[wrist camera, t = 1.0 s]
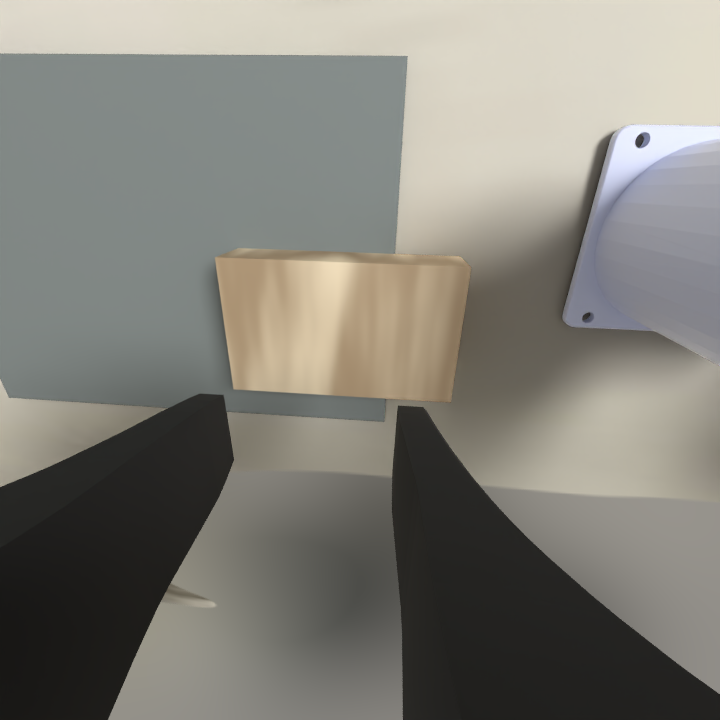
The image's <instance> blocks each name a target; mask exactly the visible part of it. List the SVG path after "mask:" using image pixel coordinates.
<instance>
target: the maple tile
mask: <svg viewBox="0 0 720 720" xmlns="http://www.w3.org/2000/svg"><path fill="white" fill-rule="evenodd" d="M215 262H216V269H217V276H218V283H219V290H220V297H221V304H222V311H223V318H224V325H225V332H226V340H227V347H228V354H229V361H230V368H231V375H232V382H233V389H236V390H253V391H269V392H286V393H302V394H319V395H335V396H352V397H368V398H385V399H401V400H417V401H434V402H450V403H451V398H452V391H453V385H454V378H455V372H456V365H457V359H458V352H459V346H460V339H461V333H462V326H463V320H464V313H465V307H466V300H467V293H468V287H469V280H470V274H471V266H470V265H469V264H467V263H466V262H465V261H464V260H463V259H462V258H461V257H460V256H437V255H410V254H384V253H357V252H331V251H304V250H277V249H251V248H237V249H235V250H232V251H230V252H227V253H225V254H222V255H220V256H217V257H215Z"/></svg>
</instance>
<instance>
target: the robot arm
mask: <svg viewBox="0 0 720 720" xmlns="http://www.w3.org/2000/svg"><path fill="white" fill-rule="evenodd" d="M639 134H642V135H643V137H644V142H643V144H642V145H641V146H640V147H639V148H637V147H636V145H635V140H636V138H637V136H638V135H639ZM588 312H590V316H589V318H588V319H586V320H583V321H582V317H583V315H584V314H586V313H588ZM562 319H563V321H564V322H565V323H566V324H567V325H569V326H571V327H581V328H602V329H623V330H644V331H655V332H657V333H659V334H661V335H663V336H665V337H666V338H668V339H670V340H672V341H674V342H676V343H678V344H679V345H681V346H683V347H685V348H687V349H689V350H691V351H692V352H694V353H696V354H698V355H700V356H702V357H703V358H705V359H707V360H709V361H711V362H713V363H715V364H716V365H718V366H720V126H687V125H628V126H624V127H621V128H620V129H618V130H617V131H616V132H615V133H614V134H613V136H612V138H611V140H610V143H609V147H608V150H607V154H606V158H605V161H604V165H603V169H602V172H601V176H600V179H599V183H598V187H597V190H596V194H595V198H594V201H593V205H592V209H591V212H590V216H589V220H588V223H587V227H586V231H585V234H584V238H583V242H582V245H581V249H580V253H579V256H578V260H577V264H576V267H575V271H574V274H573V278H572V282H571V285H570V289H569V293H568V296H567V300H566V304H565V307H564V311H563V316H562ZM233 461H234V457H233V451H232V444H231V438H230V432H229V425H228V419H227V413H226V406H225V400H224V395H217V394H201V393H200V394H198V395H195V396H193V397H190V398H188V399H186V400H184V401H182V402H180V403H178V404H176V405H174V406H172V407H170V408H168V409H166V410H164V411H162V412H160V413H158V414H156V415H154V416H152V417H150V418H148V419H146V420H145V421H143V422H141V423H139V424H137V425H135V426H133V427H131V428H129V429H127V430H125V431H123V432H121V433H119V434H117V435H115V436H113V437H111V438H109V439H107V440H105V441H103V442H101V443H99V444H97V445H95V446H92V447H90V448H88V449H86V450H84V451H82V452H80V453H78V454H76V455H74V456H72V457H70V458H67V459H65V460H63V461H61V462H59V463H57V464H54V465H52V466H50V467H48V468H45V469H43V470H41V471H38V472H36V473H34V474H31V475H29V476H27V477H24V478H22V479H19V480H17V481H14V482H12V483H9V484H7V485H4V486H2V487H0V720H108V718H109V716H110V713H111V711H112V709H113V706H114V704H115V702H116V700H117V697H118V695H119V693H120V690H121V688H122V686H123V683H124V681H125V679H126V676H127V674H128V672H129V669H130V667H131V665H132V662H133V660H134V658H135V656H136V653H137V651H138V649H139V647H140V645H141V642H142V640H143V638H144V636H145V634H146V631H147V629H148V627H149V625H150V623H151V621H152V618H153V616H154V614H155V612H156V610H157V608H158V605H159V604H160V602H161V600H162V598H163V596H164V594H165V592H166V590H167V588H168V586H169V585H170V583H171V581H172V579H173V578H174V575H175V574H176V572H177V571H178V569H179V567H180V565H181V563H182V562H183V560H184V558H185V556H186V555H187V553H188V551H189V549H190V548H191V546H192V544H193V542H194V541H195V538H196V537H197V535H198V534H199V532H200V530H201V528H202V527H203V525H204V523H205V521H206V519H207V518H208V516H209V514H210V512H211V510H212V508H213V507H214V505H215V503H216V501H217V499H218V498H219V496H220V493H221V491H222V489H223V486H224V484H225V481H226V479H227V477H228V474H229V471H230V469H231V466H232V464H233ZM392 515H393V526H394V537H395V549H396V560H397V570H398V582H399V593H400V603H401V620H402V662H403V664H402V665H403V720H720V694H718V693H717V692H716V691H714V690H713V689H712V688H710V687H709V686H707V685H706V684H705V683H703V682H702V681H700V680H699V679H698V678H696V677H695V676H693V675H692V674H691V673H689V672H688V671H687V670H685V669H684V668H682V667H681V666H680V665H678V664H677V663H676V662H675V661H673V660H672V659H671V658H669V657H668V656H667V655H666V654H664V653H663V652H662V651H660V650H659V649H658V648H657V647H655V646H654V645H653V644H652V643H650V642H649V641H648V640H646V639H645V638H644V637H643V636H641V635H640V634H639V633H638V632H636V631H635V630H634V629H632V628H631V627H630V626H629V625H627V624H626V623H625V622H623V621H622V620H621V619H619V618H618V617H617V616H616V615H615V614H614V613H612V612H611V611H610V610H609V609H607V608H606V607H605V606H604V605H603V604H601V603H600V602H599V601H598V600H596V599H595V598H594V597H593V596H592V595H591V594H589V593H588V592H587V591H586V590H585V589H584V588H583V587H581V586H580V585H579V584H578V583H577V582H576V581H575V580H573V579H572V578H571V577H570V576H569V575H568V574H567V573H565V572H564V571H563V570H562V569H561V568H560V567H559V566H557V565H556V564H555V563H554V562H553V561H552V560H551V559H550V558H548V557H547V556H546V555H545V554H544V553H543V552H542V551H541V550H540V549H539V548H538V547H537V546H536V545H534V544H533V543H532V542H531V541H530V540H529V539H528V538H527V537H526V536H525V535H524V534H523V533H522V532H521V531H520V530H519V529H518V528H517V527H516V526H515V525H514V524H513V523H512V522H511V521H510V520H509V519H508V517H507V516H506V515H505V514H504V513H503V512H502V511H501V510H500V509H499V508H498V507H497V505H496V504H495V503H494V502H493V501H492V500H491V499H490V498H489V496H488V495H487V494H486V493H485V492H484V490H483V489H482V488H481V487H480V486H479V484H478V483H477V482H476V481H475V480H474V478H473V477H472V476H471V475H470V473H469V472H468V471H467V470H466V468H465V467H464V466H463V464H462V463H461V462H460V460H459V459H458V458H457V456H456V455H455V454H454V452H453V451H452V449H451V448H450V447H449V445H448V444H447V442H446V441H445V439H444V438H443V436H442V435H441V433H440V432H439V430H438V429H437V427H436V426H435V424H434V422H433V421H432V419H431V417H430V416H429V414H428V412H427V411H426V410H425V409H424V408H423V407H411V406H398V410H397V422H396V435H395V447H394V459H393V473H392Z"/></svg>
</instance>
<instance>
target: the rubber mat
mask: <svg viewBox="0 0 720 720" xmlns="http://www.w3.org/2000/svg"><path fill="white" fill-rule="evenodd" d="M407 57H408V56H320V55H148V54H0V379H1V381H2V383H3V385H4V388H5V390H6V392H7V394H8V397H9V398H24V399H39V400H54V401H70V402H85V403H101V404H116V405H132V406H147V407H163V408H170V407H172V406H174V405H176V404H178V403H180V402H182V401H184V400H186V399H188V398H190V397H193V396H195V395H198V394H200V393H201V394H217V395H224V400H225V406H226V412H240V413H256V414H271V415H287V416H302V417H318V418H333V419H349V420H364V421H380V422H384V418H385V402H386V399H385V398H368V397H352V396H335V395H319V394H302V393H286V392H269V391H253V390H236V389H233V382H232V375H231V368H230V361H229V354H228V347H227V340H226V332H225V325H224V318H223V311H222V304H221V297H220V290H219V283H218V276H217V269H216V262H215V257H217V256H220V255H222V254H225V253H227V252H230V251H232V250H235V249H237V248H251V249H277V250H304V251H331V252H357V253H384V254H395V245H396V229H397V214H398V198H399V182H400V167H401V151H402V135H403V119H404V104H405V88H406V72H407Z"/></svg>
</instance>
